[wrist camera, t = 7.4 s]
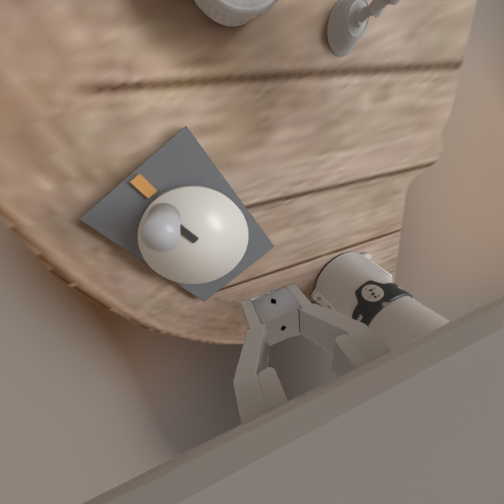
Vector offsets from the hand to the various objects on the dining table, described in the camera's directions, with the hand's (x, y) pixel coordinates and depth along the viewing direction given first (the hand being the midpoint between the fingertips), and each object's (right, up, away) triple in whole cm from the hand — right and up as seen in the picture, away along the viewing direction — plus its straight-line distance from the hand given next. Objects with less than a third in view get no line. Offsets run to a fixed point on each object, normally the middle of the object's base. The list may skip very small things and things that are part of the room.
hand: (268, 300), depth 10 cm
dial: (-9, +5, +18) cm, 21 cm away
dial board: (-10, +6, +20) cm, 23 cm away
